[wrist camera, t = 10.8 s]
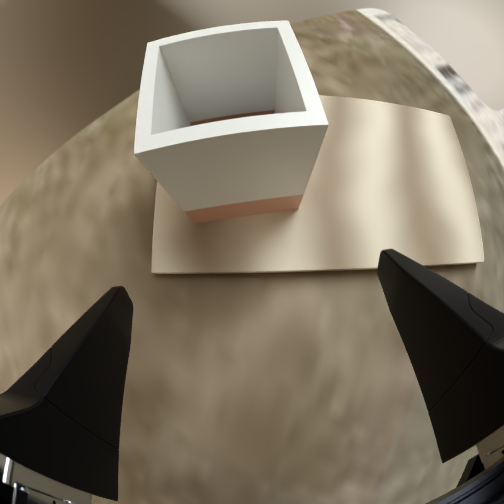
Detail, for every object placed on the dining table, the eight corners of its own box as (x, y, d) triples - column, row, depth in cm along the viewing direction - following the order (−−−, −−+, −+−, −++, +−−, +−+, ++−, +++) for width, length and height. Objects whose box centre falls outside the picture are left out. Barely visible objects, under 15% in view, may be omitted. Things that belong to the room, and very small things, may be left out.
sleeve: (280, 123, 18) (288, 20, 9) (298, 208, 17) (328, 124, 8) (189, 137, 18) (147, 42, 9) (195, 223, 17) (133, 154, 8)
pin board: (444, 121, 19) (465, 97, 15) (476, 263, 17) (509, 255, 13) (171, 109, 20) (157, 78, 16) (157, 274, 18) (130, 266, 14)
